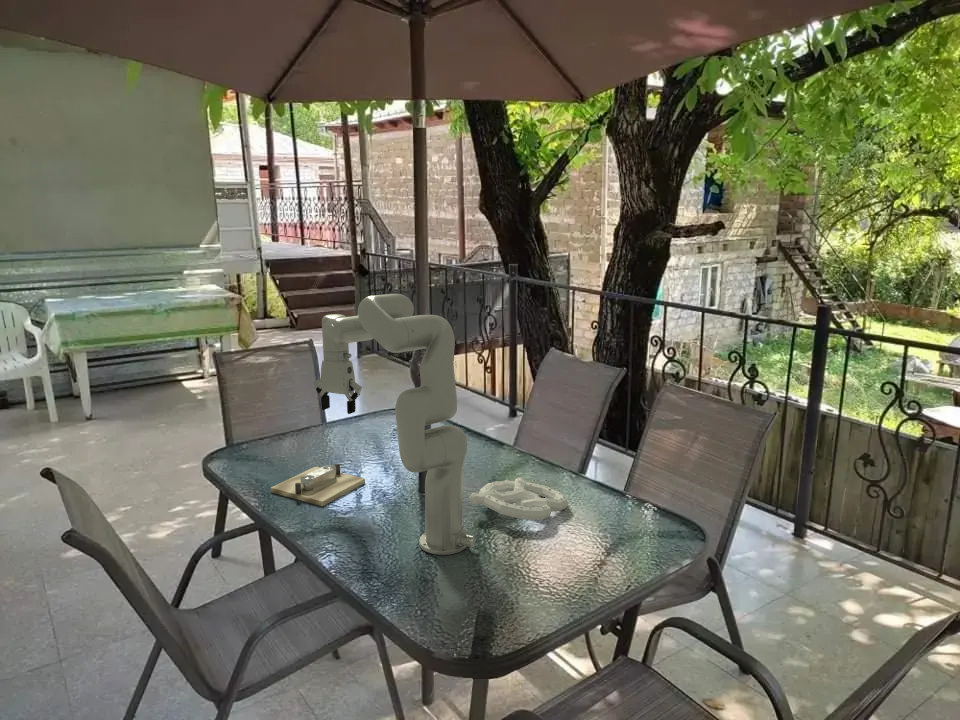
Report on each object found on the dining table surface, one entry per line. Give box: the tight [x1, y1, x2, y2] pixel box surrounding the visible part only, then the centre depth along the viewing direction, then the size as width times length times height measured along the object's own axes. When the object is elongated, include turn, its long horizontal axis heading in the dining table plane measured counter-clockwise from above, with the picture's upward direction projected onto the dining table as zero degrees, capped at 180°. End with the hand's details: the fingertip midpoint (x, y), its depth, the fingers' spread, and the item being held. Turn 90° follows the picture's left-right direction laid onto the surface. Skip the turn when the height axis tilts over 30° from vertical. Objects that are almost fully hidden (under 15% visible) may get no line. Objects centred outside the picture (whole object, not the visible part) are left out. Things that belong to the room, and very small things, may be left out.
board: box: [270, 463, 366, 507], centre depth 215 cm, size 20×20×4 cm
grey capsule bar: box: [301, 464, 336, 491], centre depth 215 cm, size 4×14×4 cm, turn 152°
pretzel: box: [468, 477, 569, 521], centre depth 202 cm, size 28×24×6 cm
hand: (338, 410), depth 214 cm, fingers open, 9 cm apart
